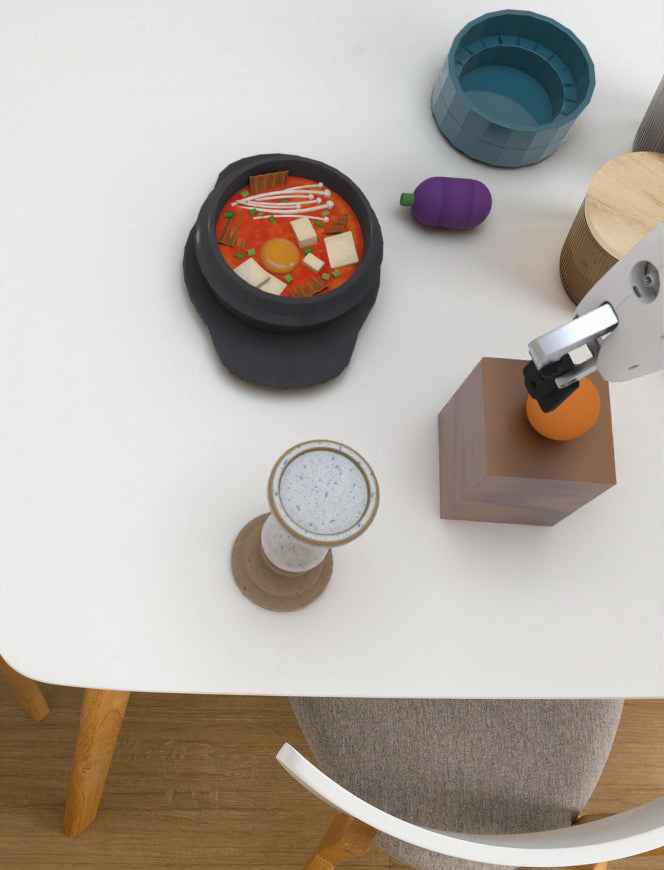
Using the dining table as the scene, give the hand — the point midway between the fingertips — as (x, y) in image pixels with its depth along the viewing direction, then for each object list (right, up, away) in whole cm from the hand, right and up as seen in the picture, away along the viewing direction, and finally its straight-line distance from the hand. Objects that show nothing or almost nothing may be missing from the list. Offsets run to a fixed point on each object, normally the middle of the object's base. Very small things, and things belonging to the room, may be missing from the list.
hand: (605, 367), depth 61 cm
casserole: (-17, +13, +31) cm, 38 cm away
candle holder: (-18, -14, +23) cm, 32 cm away
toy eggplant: (0, +19, +34) cm, 39 cm away
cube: (+2, -6, +26) cm, 27 cm away
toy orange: (+2, -2, +15) cm, 15 cm away
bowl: (+6, +31, +38) cm, 50 cm away
